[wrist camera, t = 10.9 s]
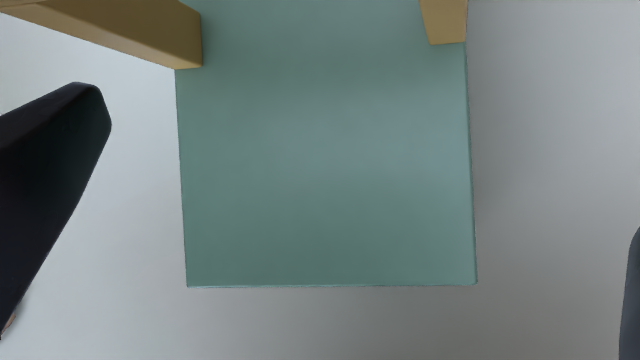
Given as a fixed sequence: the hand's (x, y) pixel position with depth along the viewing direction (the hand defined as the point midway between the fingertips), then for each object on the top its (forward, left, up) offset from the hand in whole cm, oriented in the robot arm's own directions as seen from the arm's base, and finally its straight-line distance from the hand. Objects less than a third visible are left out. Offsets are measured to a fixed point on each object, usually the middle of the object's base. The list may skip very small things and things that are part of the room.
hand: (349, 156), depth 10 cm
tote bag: (+2, 0, -11) cm, 11 cm away
